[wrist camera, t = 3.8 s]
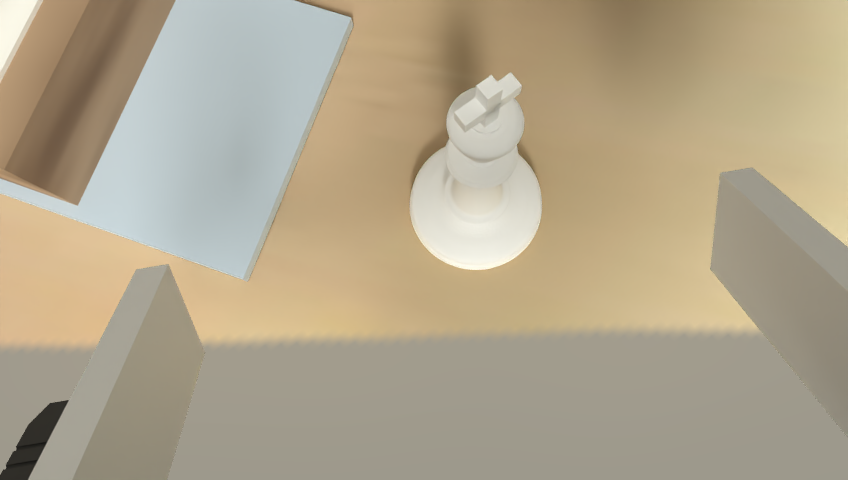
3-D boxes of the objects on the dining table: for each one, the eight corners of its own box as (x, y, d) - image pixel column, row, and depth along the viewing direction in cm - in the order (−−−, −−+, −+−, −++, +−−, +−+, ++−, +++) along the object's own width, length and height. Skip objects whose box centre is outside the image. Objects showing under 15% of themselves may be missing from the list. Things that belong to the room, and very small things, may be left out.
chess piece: (383, 192, 25) (340, 69, 15) (487, 119, 26) (508, -47, 16) (462, 296, 24) (468, 234, 14) (568, 217, 25) (644, 105, 15)
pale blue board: (353, 25, 27) (351, 17, 26) (247, 281, 25) (243, 279, 24) (-34, -92, 29) (-44, -102, 28) (-163, 135, 27) (-177, 129, 26)
